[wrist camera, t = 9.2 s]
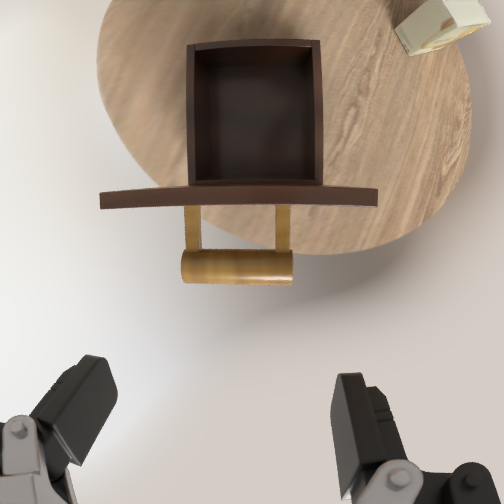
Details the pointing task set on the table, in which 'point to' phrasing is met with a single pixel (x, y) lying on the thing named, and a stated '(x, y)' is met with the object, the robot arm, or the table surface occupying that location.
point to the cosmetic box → (440, 24)
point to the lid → (282, 195)
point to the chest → (254, 112)
